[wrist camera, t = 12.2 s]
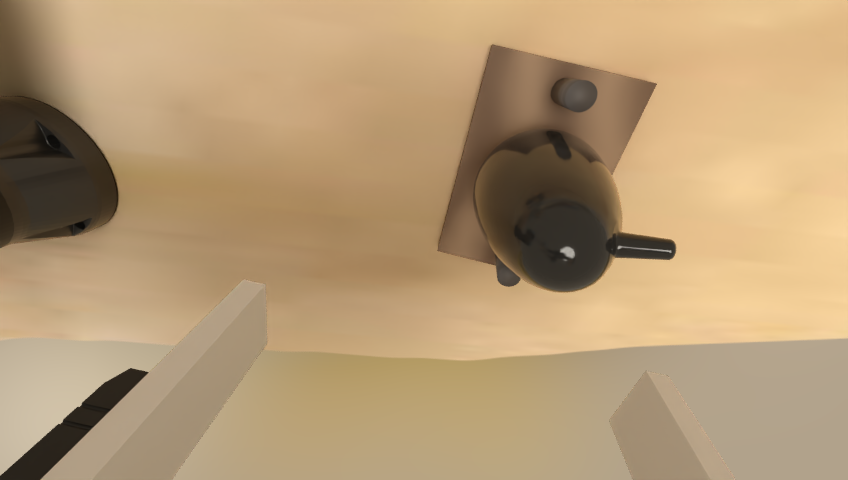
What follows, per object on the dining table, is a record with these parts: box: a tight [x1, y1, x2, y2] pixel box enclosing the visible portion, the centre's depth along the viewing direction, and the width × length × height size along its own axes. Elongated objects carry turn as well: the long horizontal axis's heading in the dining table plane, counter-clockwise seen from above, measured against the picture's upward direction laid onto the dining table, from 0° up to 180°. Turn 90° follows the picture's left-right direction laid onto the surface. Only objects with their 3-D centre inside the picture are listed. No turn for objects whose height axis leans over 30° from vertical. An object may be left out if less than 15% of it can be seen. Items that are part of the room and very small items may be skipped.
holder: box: [438, 45, 657, 287], centre depth 29 cm, size 13×19×6 cm
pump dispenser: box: [473, 128, 676, 293], centre depth 24 cm, size 10×10×15 cm
